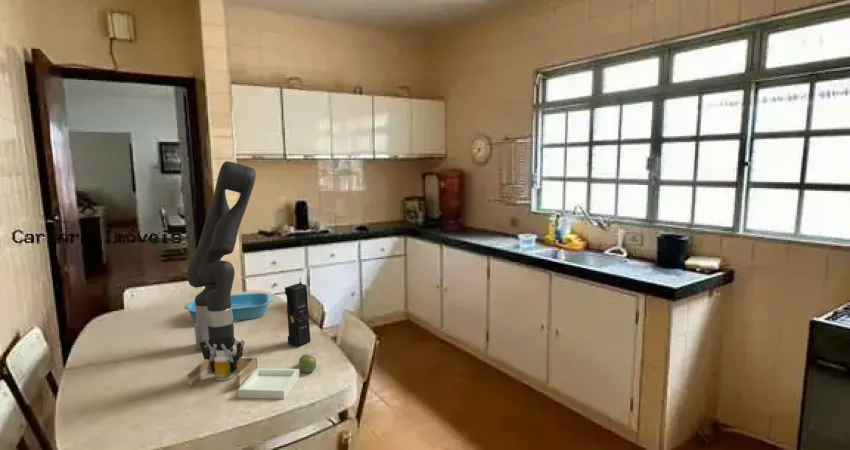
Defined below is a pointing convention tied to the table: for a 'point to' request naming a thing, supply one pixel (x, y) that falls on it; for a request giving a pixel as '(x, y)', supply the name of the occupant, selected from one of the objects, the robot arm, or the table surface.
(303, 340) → the portable radio
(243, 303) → the casserole dish
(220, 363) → the supplement bottle
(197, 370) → the frame
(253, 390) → the plastic tray
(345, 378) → the table surface
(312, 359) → the pear
